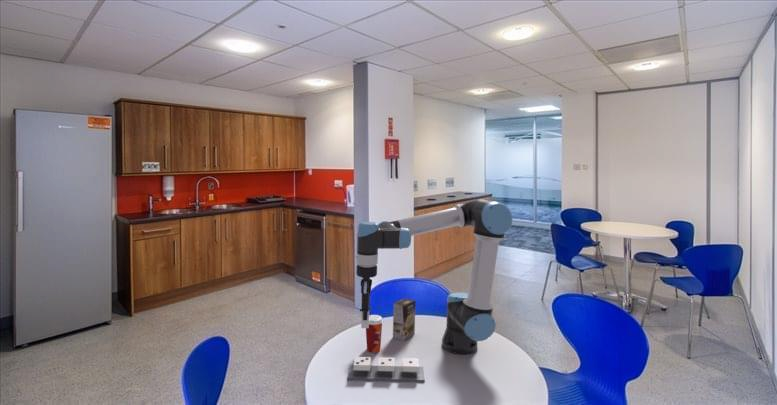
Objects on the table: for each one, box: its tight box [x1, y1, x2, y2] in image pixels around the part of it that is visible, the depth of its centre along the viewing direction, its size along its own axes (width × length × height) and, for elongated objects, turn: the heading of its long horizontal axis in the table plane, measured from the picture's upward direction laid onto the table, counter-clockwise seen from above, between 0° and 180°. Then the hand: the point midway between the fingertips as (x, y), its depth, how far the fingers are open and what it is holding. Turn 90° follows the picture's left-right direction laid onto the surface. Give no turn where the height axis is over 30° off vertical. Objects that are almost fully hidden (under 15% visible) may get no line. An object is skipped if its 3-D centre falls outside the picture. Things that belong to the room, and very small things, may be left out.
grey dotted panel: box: [347, 364, 426, 383], centre depth 144 cm, size 28×9×1 cm, turn 88°
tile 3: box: [352, 356, 372, 371], centre depth 144 cm, size 6×6×2 cm
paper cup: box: [365, 314, 384, 354], centre depth 162 cm, size 8×8×14 cm
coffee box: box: [392, 297, 416, 341], centre depth 176 cm, size 9×6×16 cm
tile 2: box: [377, 356, 396, 371], centre depth 144 cm, size 6×6×2 cm
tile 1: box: [401, 357, 420, 372], centre depth 143 cm, size 6×6×2 cm
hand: (365, 327), depth 142 cm, fingers closed
